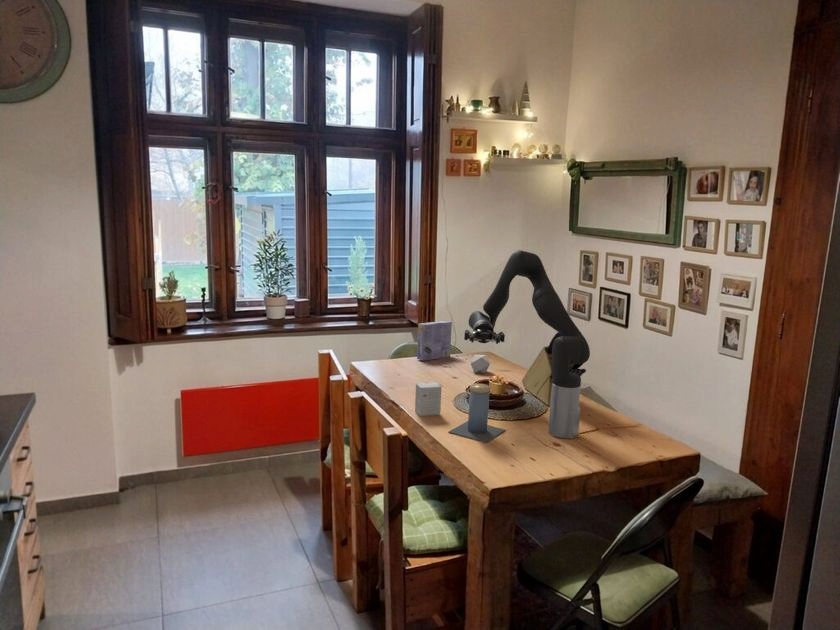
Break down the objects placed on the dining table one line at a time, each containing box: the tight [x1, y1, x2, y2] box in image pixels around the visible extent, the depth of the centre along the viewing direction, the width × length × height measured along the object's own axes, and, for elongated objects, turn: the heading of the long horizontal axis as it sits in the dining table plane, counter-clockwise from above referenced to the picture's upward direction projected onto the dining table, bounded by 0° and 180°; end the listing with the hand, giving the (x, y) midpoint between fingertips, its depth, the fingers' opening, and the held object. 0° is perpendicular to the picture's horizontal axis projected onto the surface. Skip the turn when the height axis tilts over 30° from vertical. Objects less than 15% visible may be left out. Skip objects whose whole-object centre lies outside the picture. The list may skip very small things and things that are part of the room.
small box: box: [414, 381, 442, 417], centre depth 225 cm, size 8×6×10 cm
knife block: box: [521, 332, 587, 407], centre depth 245 cm, size 11×35×31 cm, turn 13°
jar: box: [467, 383, 491, 434], centre depth 208 cm, size 7×7×15 cm
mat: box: [448, 420, 507, 444], centre depth 209 cm, size 14×14×1 cm
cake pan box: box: [416, 320, 453, 362], centre depth 303 cm, size 19×5×18 cm, turn 130°
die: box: [470, 354, 491, 374], centre depth 282 cm, size 8×9×10 cm
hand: (485, 340), depth 218 cm, fingers open, 8 cm apart
